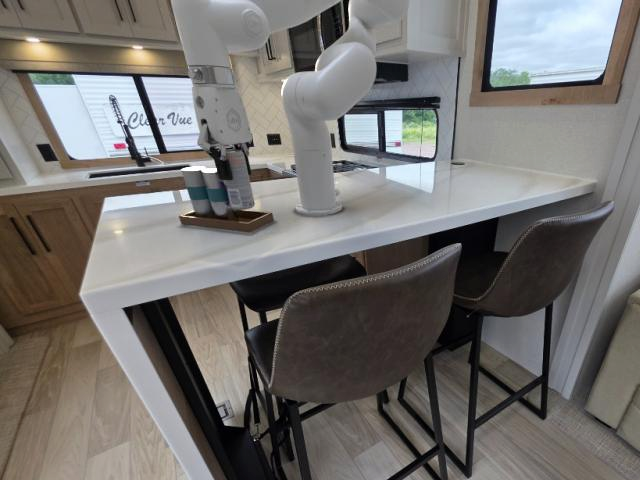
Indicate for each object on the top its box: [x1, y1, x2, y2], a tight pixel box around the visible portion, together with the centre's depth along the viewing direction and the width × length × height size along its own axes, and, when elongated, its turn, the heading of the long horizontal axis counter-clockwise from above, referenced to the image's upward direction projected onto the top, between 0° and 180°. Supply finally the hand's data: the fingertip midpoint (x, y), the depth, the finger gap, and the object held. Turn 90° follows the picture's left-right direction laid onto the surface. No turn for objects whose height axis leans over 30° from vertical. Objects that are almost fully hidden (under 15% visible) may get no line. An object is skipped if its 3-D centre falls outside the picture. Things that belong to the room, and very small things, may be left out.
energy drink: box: [223, 149, 256, 210], centre depth 74 cm, size 5×5×12 cm
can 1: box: [180, 166, 215, 219], centre depth 78 cm, size 5×5×12 cm
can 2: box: [201, 167, 239, 222], centre depth 77 cm, size 5×5×12 cm
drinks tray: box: [178, 209, 275, 234], centre depth 80 cm, size 9×19×2 cm, turn 74°
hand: (235, 176), depth 73 cm, fingers closed on energy drink, 5 cm apart
